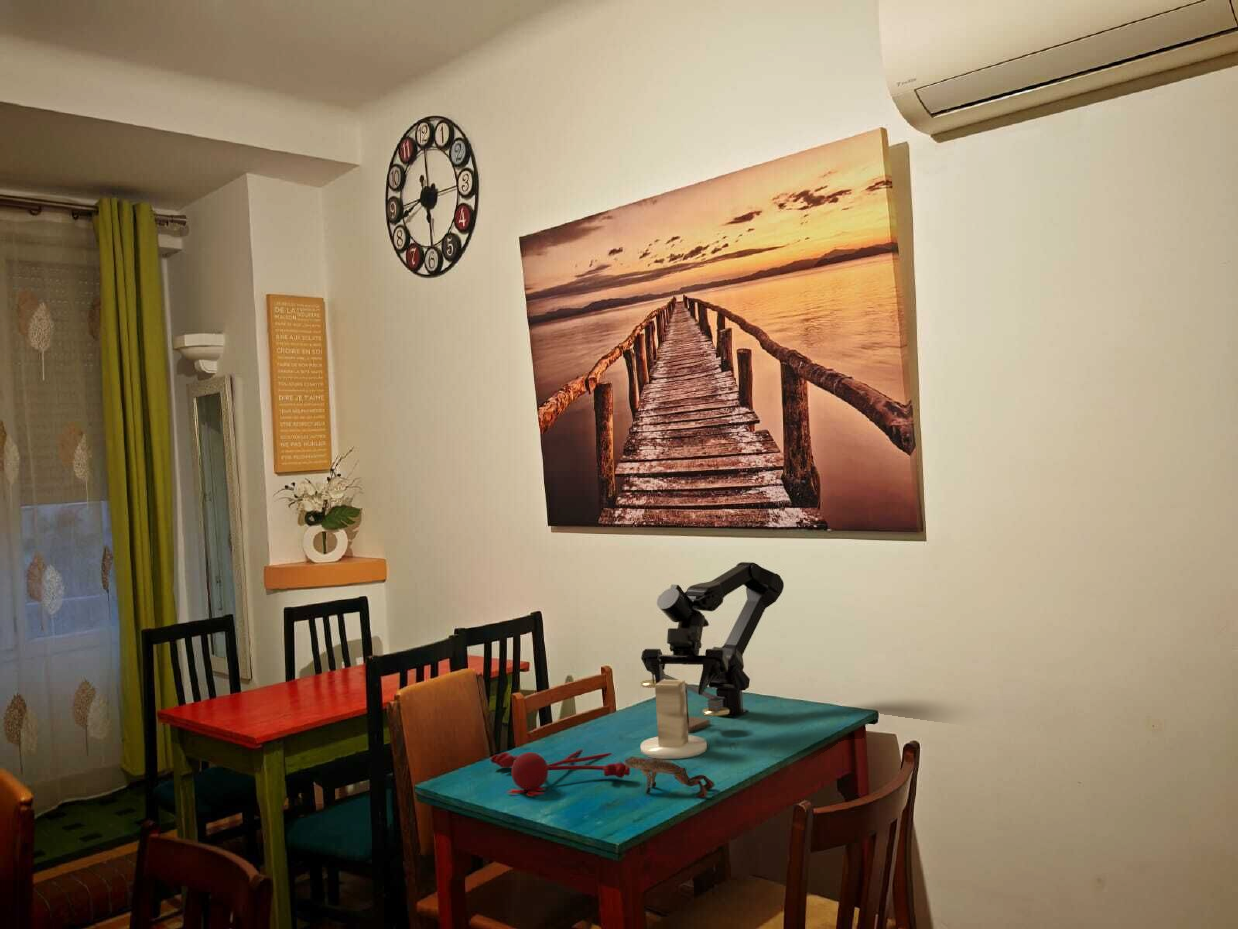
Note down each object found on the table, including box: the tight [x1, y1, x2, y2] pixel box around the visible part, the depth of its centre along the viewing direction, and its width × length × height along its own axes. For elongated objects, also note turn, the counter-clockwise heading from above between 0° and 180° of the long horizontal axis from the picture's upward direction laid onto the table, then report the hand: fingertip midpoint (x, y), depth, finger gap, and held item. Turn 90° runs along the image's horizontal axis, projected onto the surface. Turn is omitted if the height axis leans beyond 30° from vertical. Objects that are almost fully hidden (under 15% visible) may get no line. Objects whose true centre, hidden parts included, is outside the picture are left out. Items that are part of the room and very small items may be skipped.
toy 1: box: [490, 748, 631, 797], centre depth 206 cm, size 32×8×30 cm
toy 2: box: [624, 756, 715, 799], centre depth 191 cm, size 6×9×16 cm
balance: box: [640, 673, 729, 734], centre depth 235 cm, size 8×23×12 cm, turn 50°
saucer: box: [640, 734, 708, 760], centre depth 217 cm, size 14×14×1 cm
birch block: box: [654, 679, 689, 747], centre depth 217 cm, size 5×5×13 cm
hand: (679, 693), depth 223 cm, fingers open, 9 cm apart
